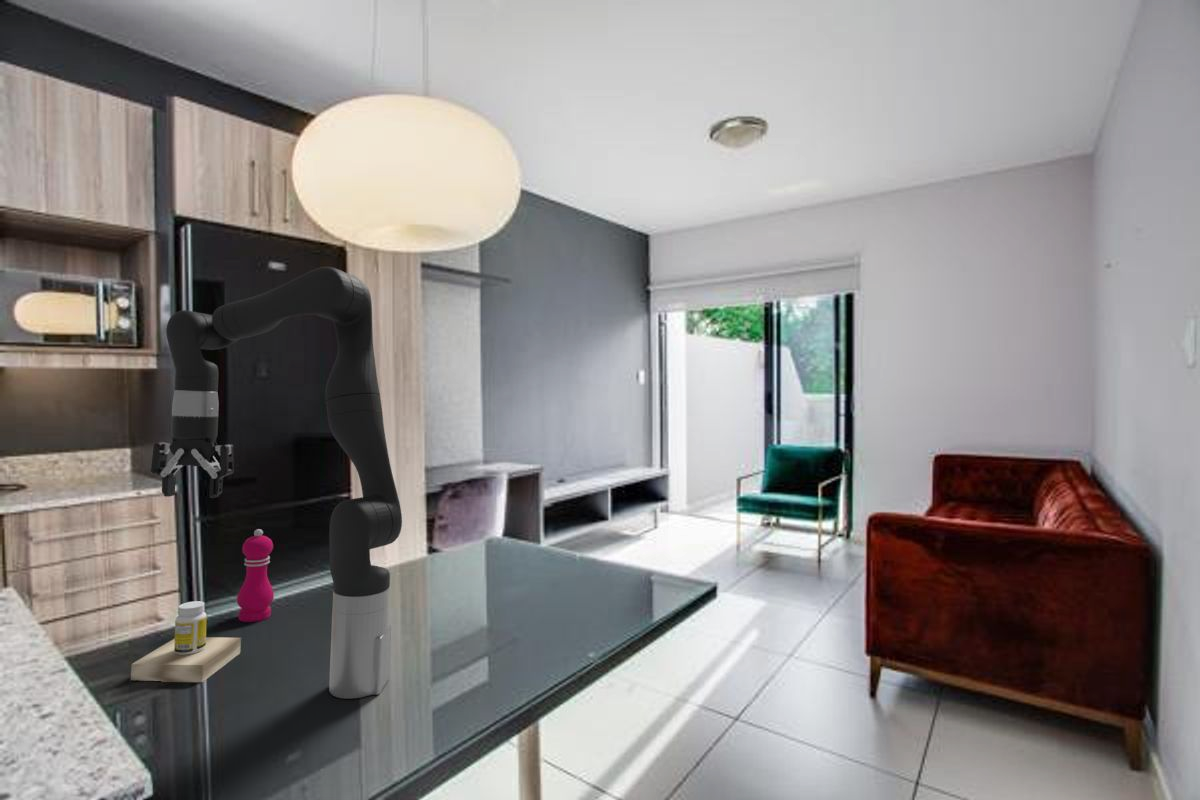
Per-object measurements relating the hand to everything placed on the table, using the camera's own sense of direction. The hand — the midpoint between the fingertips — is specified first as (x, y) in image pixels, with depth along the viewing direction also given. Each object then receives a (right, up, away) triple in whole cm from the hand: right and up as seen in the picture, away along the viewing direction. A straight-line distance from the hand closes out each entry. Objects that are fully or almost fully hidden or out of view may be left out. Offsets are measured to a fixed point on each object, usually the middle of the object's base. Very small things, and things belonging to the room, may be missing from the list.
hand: (191, 496), depth 115 cm
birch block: (+4, -30, -7) cm, 31 cm away
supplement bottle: (+4, -27, -7) cm, 29 cm away
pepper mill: (+2, -31, +18) cm, 35 cm away
